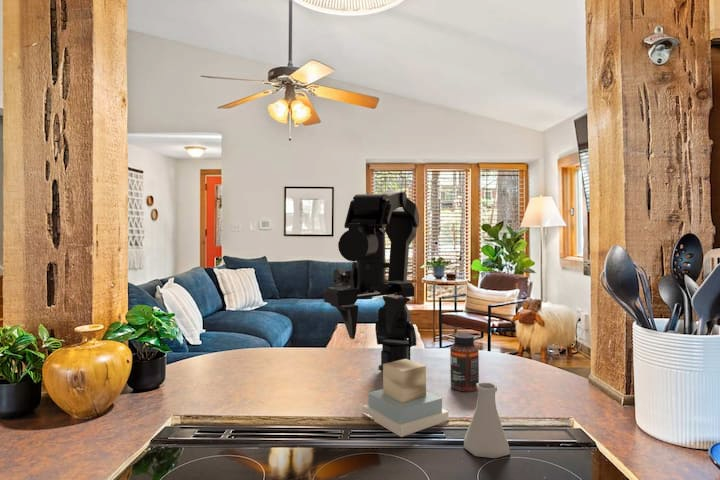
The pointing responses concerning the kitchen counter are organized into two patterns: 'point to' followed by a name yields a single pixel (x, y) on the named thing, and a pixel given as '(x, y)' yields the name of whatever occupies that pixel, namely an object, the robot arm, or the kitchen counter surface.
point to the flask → (486, 426)
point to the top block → (405, 406)
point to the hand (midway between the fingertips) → (371, 335)
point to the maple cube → (404, 380)
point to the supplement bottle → (464, 363)
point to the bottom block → (409, 426)
